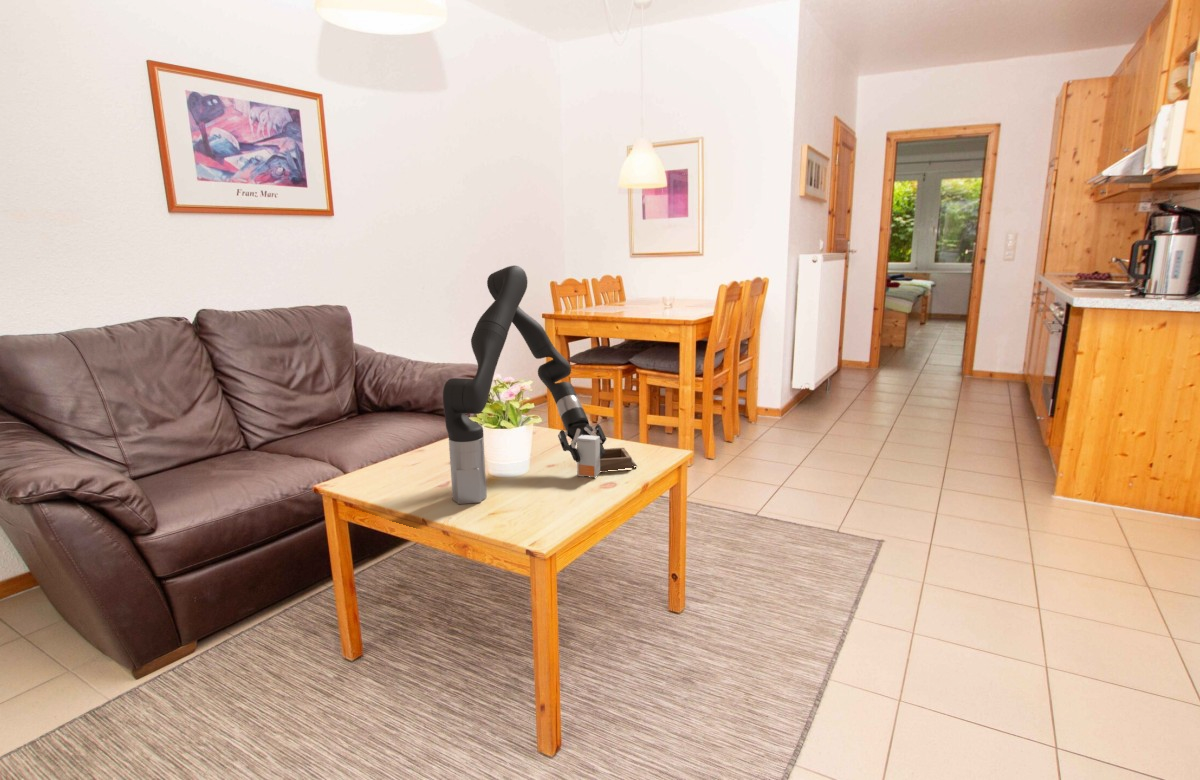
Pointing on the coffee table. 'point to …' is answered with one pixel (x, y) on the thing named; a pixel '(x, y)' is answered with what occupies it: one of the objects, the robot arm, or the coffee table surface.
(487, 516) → the coffee table surface
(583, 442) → the skincare box
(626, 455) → the box
